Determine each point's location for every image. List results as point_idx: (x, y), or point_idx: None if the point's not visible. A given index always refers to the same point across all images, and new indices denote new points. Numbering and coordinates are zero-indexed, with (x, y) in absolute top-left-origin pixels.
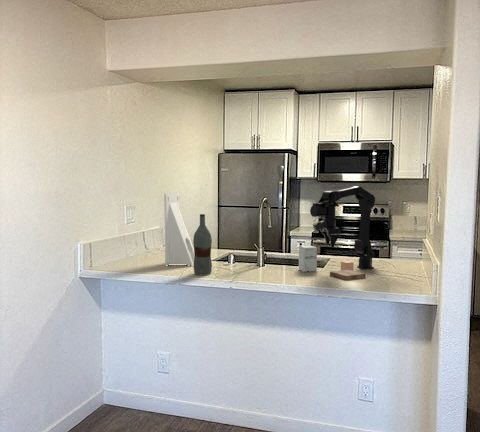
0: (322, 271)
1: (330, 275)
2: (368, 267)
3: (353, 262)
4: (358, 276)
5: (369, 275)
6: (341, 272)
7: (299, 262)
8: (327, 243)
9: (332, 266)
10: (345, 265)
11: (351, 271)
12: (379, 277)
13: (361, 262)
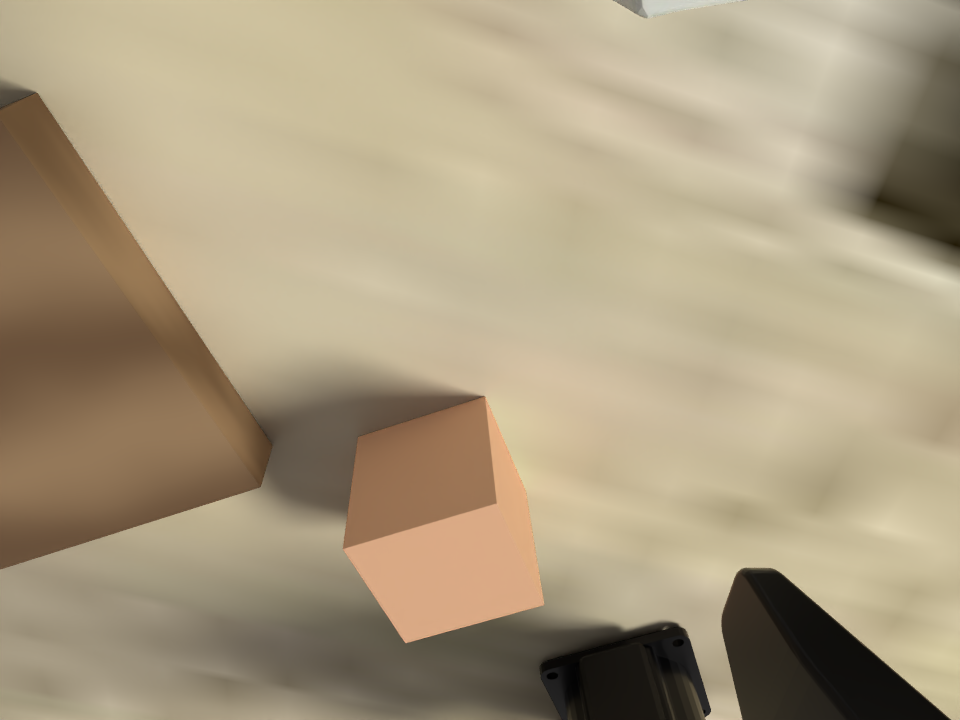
0: (482, 75)
1: (18, 101)
2: (565, 706)
3: (405, 637)
4: None
5: (145, 614)
6: None
7: None
8: (753, 641)
9: (873, 380)
10: (377, 501)
11: (79, 475)
12: (30, 665)
13: (600, 715)
